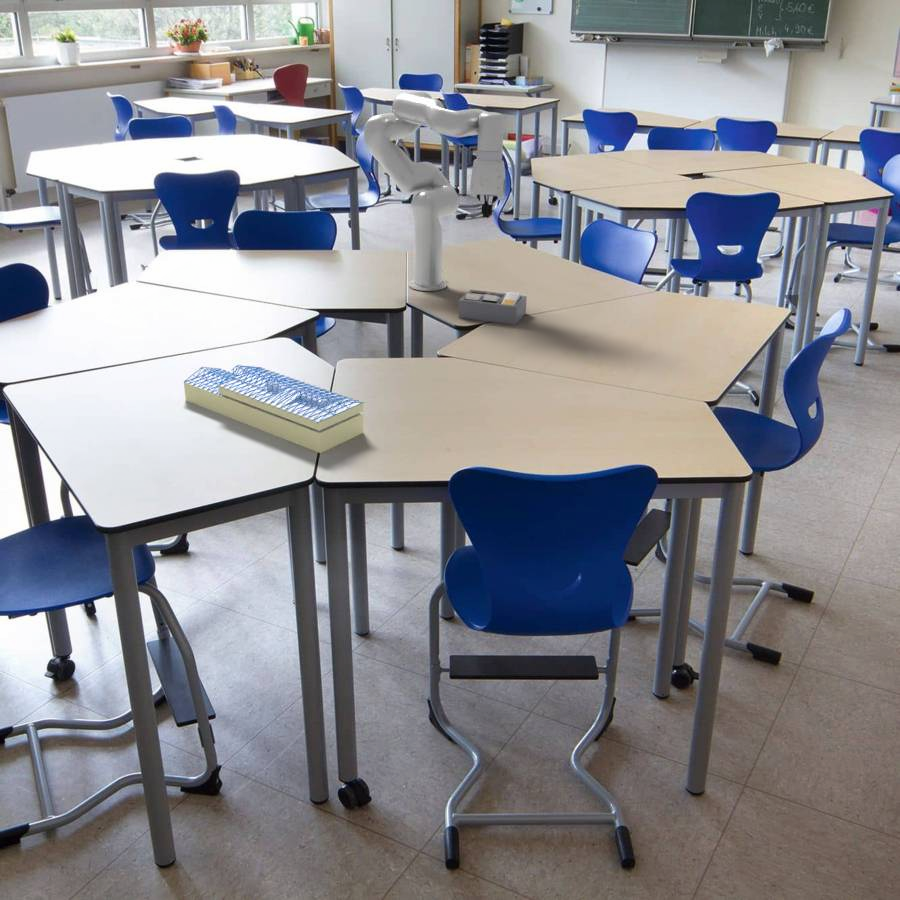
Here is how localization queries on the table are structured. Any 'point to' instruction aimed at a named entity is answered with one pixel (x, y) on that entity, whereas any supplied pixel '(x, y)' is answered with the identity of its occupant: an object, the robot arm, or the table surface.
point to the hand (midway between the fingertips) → (486, 216)
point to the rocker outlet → (511, 298)
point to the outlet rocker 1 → (474, 296)
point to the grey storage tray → (492, 309)
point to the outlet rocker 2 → (491, 298)
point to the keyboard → (278, 405)
